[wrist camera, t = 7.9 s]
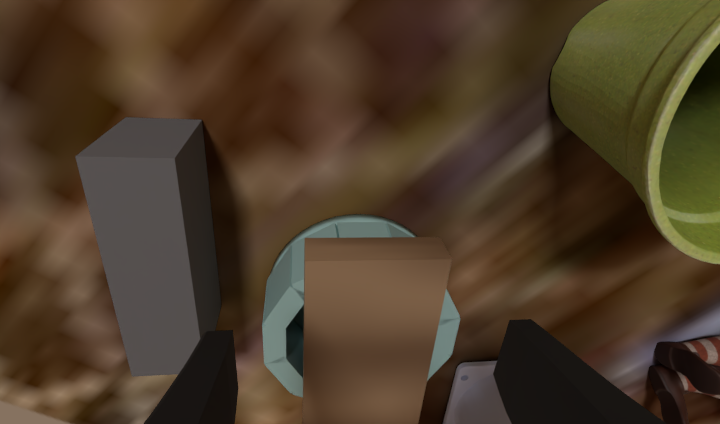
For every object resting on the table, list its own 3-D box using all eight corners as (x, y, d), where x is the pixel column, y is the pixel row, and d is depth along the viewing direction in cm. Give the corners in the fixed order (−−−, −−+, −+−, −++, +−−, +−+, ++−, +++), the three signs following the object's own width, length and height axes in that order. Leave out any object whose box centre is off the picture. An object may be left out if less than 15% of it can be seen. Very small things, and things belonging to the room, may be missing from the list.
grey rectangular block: (221, 304, 22) (205, 372, 19) (161, 306, 22) (132, 376, 18) (201, 119, 18) (174, 158, 14) (125, 117, 17) (75, 156, 13)
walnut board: (407, 414, 22) (414, 442, 21) (302, 421, 22) (302, 451, 20) (439, 236, 17) (452, 259, 16) (304, 237, 17) (305, 261, 15)
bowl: (421, 344, 26) (441, 400, 22) (271, 350, 24) (266, 411, 21) (446, 214, 22) (474, 258, 18) (265, 213, 20) (259, 261, 17)
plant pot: (480, 27, 18) (618, 61, 10) (702, -108, 16) (1054, -187, 9) (545, 197, 22) (675, 310, 14) (724, 101, 21) (970, 170, 13)
